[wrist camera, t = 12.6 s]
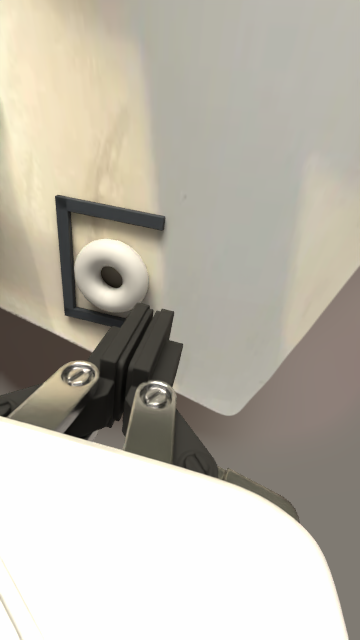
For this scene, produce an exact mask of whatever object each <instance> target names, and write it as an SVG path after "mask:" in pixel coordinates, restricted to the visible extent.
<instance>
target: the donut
mask: <svg viewBox="0 0 360 640" xmlns="http://www.w3.org/2000/svg"><path fill="white" fill-rule="evenodd" d="M104 266H110V267H113V268H115V269H116V270H117V271H118V272H119V273H120V274H121V276H122V279H123V284H122V286H121V287H119V288H113V287H110V286H109V285H107V284H106V283H105V282H104V280H103V279H102V277H101V269H102V268H103V267H104ZM74 272H75V280H76V283H77V285H78V288H79V290H80V291H81V292H82V294H83V295H84V297H85V298H86V299H87V300H88V301H90V302H91V303H92V304H93V305H94V306H96V307H98V308H100V309H102V310H105V311H109V312H126V311H128V310H131V309H133V308H134V306H135V305H136V303H140V302H141V301H142V300H143V299H144V297H145V295H146V293H147V291H148V284H149V276H148V272H147V268H146V265H145V264H144V262H143V260H142V259H141V257H140V255H138V254H137V253H136V252H135V251H134V250H133V249H132V248H131V247H130V246H128V245H126V244H124V243H122V242H120V241H117V240H112V239H101V240H95V241H93V242H91V243H89V244H88V245H86V246H84V248H83V249H82V250H81V252H80V253H79V254H78V256H77V258H76V262H75V266H74Z"/></svg>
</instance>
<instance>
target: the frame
mask: <svg viewBox="0 0 360 640" xmlns="http://www.w3.org/2000/svg"><path fill="white" fill-rule="evenodd" d="M55 201H56V214H57V226H58V238H59V250H60V262H61V274H62V286H63V299H64V311H65V315H66V316H70V317H74V318H78V319H82V320H87V321H91V322H95V323H99V324H103V325H107V326H111V327H112V326H115V327H119V328H121V326H122V325H123V323H124V322H125V320H126V318H121V317H117V316H113V315H109V314H105V313H100V312H96V311H92V310H88V309H83V308H79V307H76V297H75V280H74V262H73V245H72V227H71V212H75V213H79V214H84V215H89V216H94V217H99V218H104V219H109V220H114V221H118V222H123V223H128V224H133V225H138V226H143V227H148V228H153V229H157V230H163V229H164V223H165V216H160V215H155V214H150V213H145V212H140V211H135V210H130V209H125V208H120V207H115V206H110V205H105V204H100V203H95V202H90V201H85V200H80V199H75V198H70V197H66V196H61V195H57V196H55Z"/></svg>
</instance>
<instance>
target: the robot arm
mask: <svg viewBox="0 0 360 640" xmlns="http://www.w3.org/2000/svg"><path fill="white" fill-rule="evenodd" d="M173 317H174V311H170V310H166V309H162V310H161V312H160V311H156V313H155V315H154V317H153V310H152V309H150V306H149V305H145V304H141V303H136V305H135V306H134V308H133V309H132V311H131V312H130V314H129V315H128V317H127V319H126V320H125V322H124V323H123V325H122V326H121V328H119V327H115V326H112V327H111V328H110V329H109V330H108V332H107V333H106V335H105V336H104V337H103V339H102V340H101V342H100V343H99V344H98V346H97V347H96V349H95V350H94V351H93V353H92V354H91V356H90V357H89V358H88V360H87V361H73V362H70V363H67V364H65V365H64V366H62V367H61V368H60V369H59V370H58V371H57V372H56V373H54V374H53V375H52V376H51V377H50V378H49V379H48V380H47V381H46V382H45V383H42V384H38V385H35V386H32V387H28V388H25V389H22V390H18V391H15V392H11V393H8V394H4V395H1V396H0V640H349V639H348V635H347V630H346V627H345V622H344V618H343V614H342V610H341V606H340V602H339V599H338V595H337V591H336V588H335V585H334V582H333V579H332V576H331V573H330V570H329V568H328V565H327V562H326V560H325V558H324V555H323V553H322V551H321V550H320V548H319V546H318V544H317V543H316V542H315V540H314V539H313V538H312V537H311V535H310V534H309V533H308V532H307V531H306V530H305V529H304V528H303V527H302V526H301V525H300V522H299V516H298V515H297V512H296V510H295V508H294V507H293V506H292V504H291V503H290V502H289V501H288V500H287V499H285V498H284V497H282V496H281V495H279V494H277V493H275V492H273V491H271V490H269V489H267V488H266V487H264V486H262V485H260V484H258V483H256V482H254V481H252V480H250V479H248V478H246V477H244V476H243V475H241V474H239V473H237V472H235V471H233V470H231V469H229V468H227V470H224V469H222V468H221V467H219V466H217V464H216V462H215V460H214V458H213V457H212V456H211V454H210V453H209V452H208V450H207V449H206V448H205V446H204V445H203V444H202V442H201V441H200V440H199V438H198V437H197V436H196V435H195V433H194V432H193V430H192V429H191V428H190V426H189V425H188V424H187V422H186V421H185V420H184V418H183V417H182V416H181V415H180V413H179V412H178V410H177V409H176V393H175V391H174V389H173V388H172V387H173V383H174V380H175V376H176V373H177V369H178V365H179V361H180V357H181V352H182V348H183V344H182V343H178V342H174V341H170V340H169V337H170V332H171V327H172V322H173ZM152 318H153V319H152ZM122 414H123V427H122V432H123V434H124V435H125V442H124V446H123V450H119V449H116V448H112V447H108V446H105V445H101V444H98V443H94V442H93V440H94V439H95V437H96V435H97V433H98V430H99V429H102V428H104V427H109V428H111V427H112V425H113V423H114V421H115V420H116V421H119V420H120V419H121V416H122Z"/></svg>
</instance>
